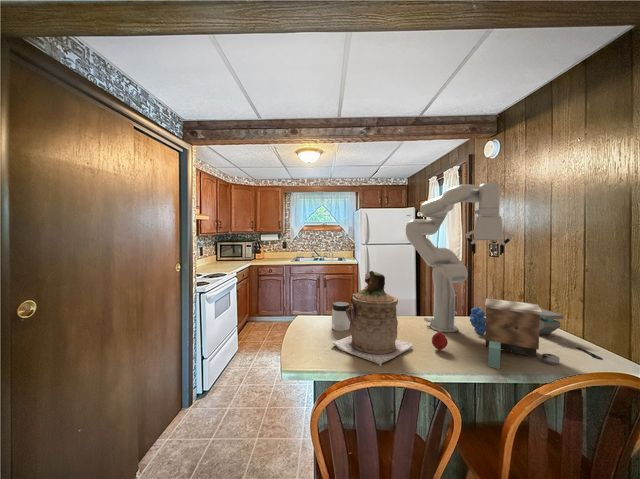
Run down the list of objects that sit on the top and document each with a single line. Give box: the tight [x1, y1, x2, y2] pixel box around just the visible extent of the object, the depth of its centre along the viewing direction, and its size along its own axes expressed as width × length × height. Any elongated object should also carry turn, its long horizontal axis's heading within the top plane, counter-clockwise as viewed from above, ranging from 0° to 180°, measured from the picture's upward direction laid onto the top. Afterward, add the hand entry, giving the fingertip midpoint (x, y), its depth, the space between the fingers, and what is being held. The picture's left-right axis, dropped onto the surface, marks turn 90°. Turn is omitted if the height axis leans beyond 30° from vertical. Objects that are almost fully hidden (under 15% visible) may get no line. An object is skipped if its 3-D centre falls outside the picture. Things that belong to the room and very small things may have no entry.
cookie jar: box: [331, 270, 414, 367], centre depth 118 cm, size 25×25×32 cm
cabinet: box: [484, 298, 542, 357], centre depth 116 cm, size 18×14×19 cm
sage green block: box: [487, 341, 502, 370], centre depth 110 cm, size 4×18×7 cm, turn 148°
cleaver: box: [556, 340, 604, 361], centre depth 125 cm, size 29×1×10 cm
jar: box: [331, 301, 351, 332], centre depth 141 cm, size 9×8×12 cm
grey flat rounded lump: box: [541, 353, 561, 366], centre depth 107 cm, size 5×5×2 cm
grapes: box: [469, 306, 486, 335], centre depth 137 cm, size 12×7×12 cm, turn 4°
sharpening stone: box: [520, 301, 564, 335], centre depth 142 cm, size 25×8×11 cm, turn 4°
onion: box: [431, 331, 448, 351], centre depth 117 cm, size 6×6×8 cm
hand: (487, 254), depth 122 cm, fingers open, 9 cm apart
